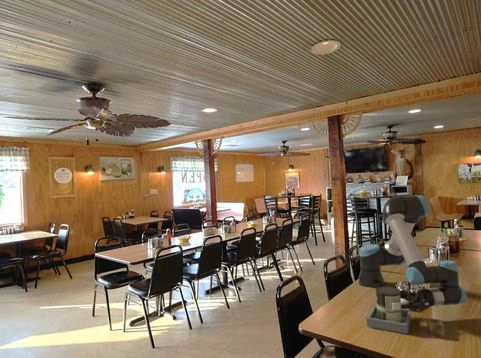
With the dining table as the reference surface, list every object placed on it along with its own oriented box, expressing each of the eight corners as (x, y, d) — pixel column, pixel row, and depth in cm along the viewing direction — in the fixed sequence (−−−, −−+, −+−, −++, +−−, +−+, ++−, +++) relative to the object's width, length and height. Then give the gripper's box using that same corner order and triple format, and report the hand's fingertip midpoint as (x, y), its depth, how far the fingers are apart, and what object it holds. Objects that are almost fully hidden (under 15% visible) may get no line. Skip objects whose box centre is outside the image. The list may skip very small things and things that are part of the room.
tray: (367, 326, 144) (366, 318, 144) (374, 313, 158) (373, 305, 158) (407, 334, 136) (407, 324, 136) (411, 319, 149) (410, 311, 149)
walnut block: (430, 336, 133) (429, 324, 133) (427, 331, 138) (426, 319, 138) (444, 337, 131) (443, 325, 131) (441, 332, 136) (440, 320, 136)
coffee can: (374, 322, 146) (372, 291, 146) (381, 314, 154) (379, 284, 154) (399, 328, 139) (397, 295, 139) (404, 319, 147) (403, 288, 147)
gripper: (449, 316, 136) (400, 320, 134) (414, 296, 160) (372, 299, 159) (448, 298, 136) (399, 302, 134) (413, 280, 161) (371, 284, 159)
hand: (384, 300), depth 147 cm, fingers open, 13 cm apart
